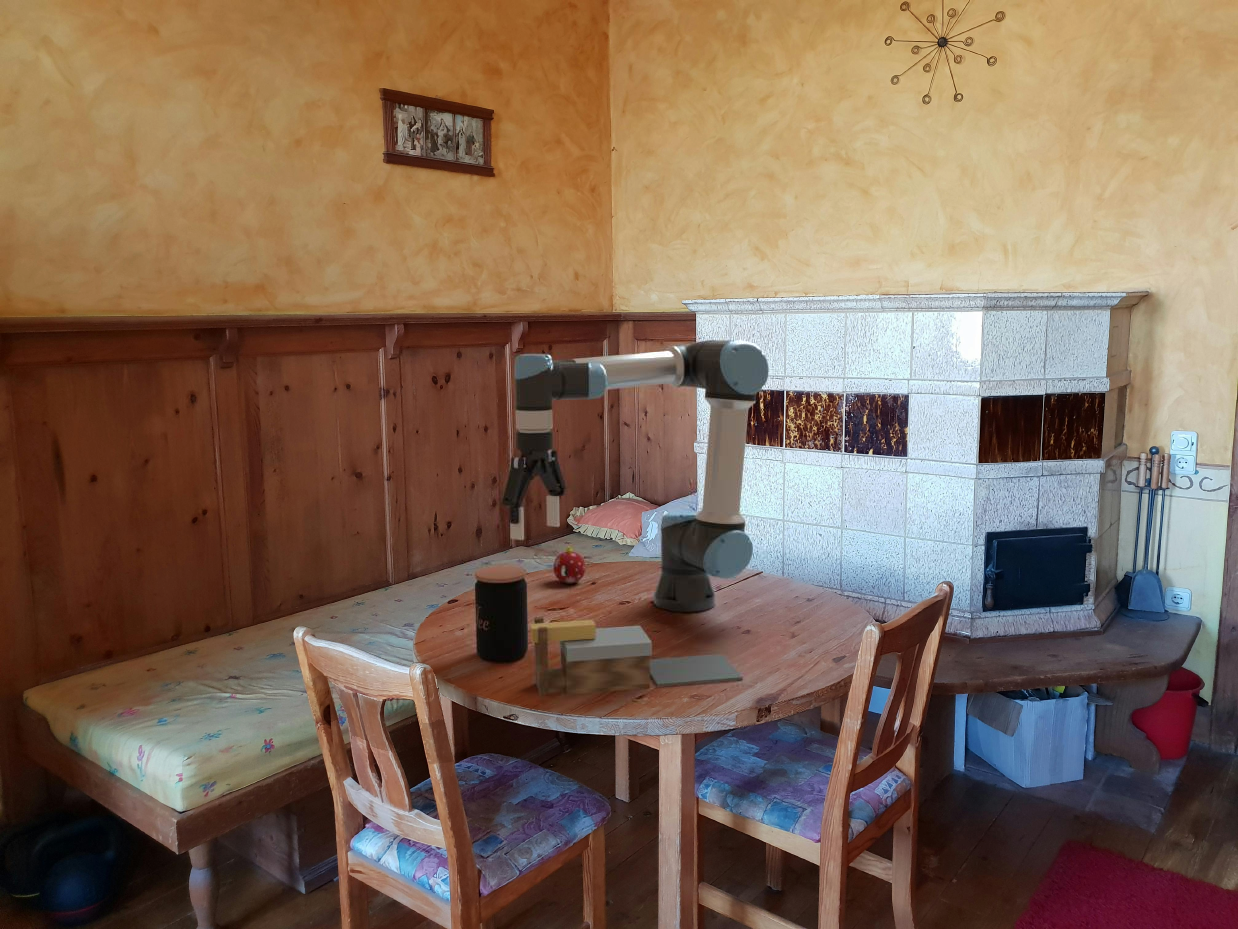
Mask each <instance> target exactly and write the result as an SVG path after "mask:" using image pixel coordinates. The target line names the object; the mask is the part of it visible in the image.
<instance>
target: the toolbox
mask: <svg viewBox="0 0 1238 929" xmlns="http://www.w3.org/2000/svg"><path fill="white" fill-rule="evenodd" d="M544 620H545V619H544V617H534V621H533V622H534V623H533V624H538V623H545V622H544ZM548 646H549V644H548V633H547V627H538V643H534V660H535V661H534V665H535V666H534V667H535V670H534V672H535V674H534V676H535V685H536V688H537V692H538V696H539V697H540V698H543V697H549V694H560V693H565V695H579V694H590V693H591V694H592V693H602V692H603V693H604V692H615V691H626V690H627V691H628V690H638V689H649V688H651V676H650V659H651V655H648V656H635V657H622V658H609V659H595V660H582V661H569V662H567V660H566V657H565V655H564V653H563V650H562V648H561V647H560V667H559V668H549V650H548V649H549V648H548Z"/></svg>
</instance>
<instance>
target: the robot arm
mask: <svg viewBox="0 0 1238 929" xmlns="http://www.w3.org/2000/svg"><path fill="white" fill-rule="evenodd" d="M769 373H770V372H769V362H768V359H767V357H766V355H765V353H764V352H763V351H762V349H761V348H760V346H758V345H756V344H755V343H753V342H750V341H746V340H745V341H744V340H739V339H737V340H734V339H733V340H732V339H731V340H716V339H708V340H700V341H697V342H693V343H687V344H682V345H681V344H680V345H671V346H667V348H665V349H664V350H663V351H652V352H641V353H629V354H627V353H626V354H617V355H615V354H614V355H606V356H605V355H604V356H593V357H591V356H590V357H582V358H581V357H580V358H571V359H558V360H553V357H552V356H551V355H550V354H547V353H525V354H519V355H518V356H516V357H515V360H514V375H513V379H514V395H515V397H514V399H515V405H514V406H515V429H516V430H518V431H516V433H515V449H516V450H518V451H520V457H517V456H512V457H511V459H510V470H509V474H508V477H507V482H506V485H505V490H504V493H503V497H502V501H501V505H502V506H504V507H505V508H508V509H509V523H510V524H509V525H510V527H509V528H510V539H511V540H519V541H523V540H524V539H525V529H524V528H525V525H524V524H525V523H524V521H525V520H524V519H525V516H524V514H525V512H524V507H523V506H522V504H523V501H524V499H525V497H526V494H527V492H528V488H529V487H530V483H531V482H532V481H533V480H534V479H535V478H536V477H539V478H540V479H541V481H542V484H543V485H544V487H545V489H546V491H547V493H548V495H546V526H547V527H556V528H559V527H561V526H560V523H561V522H560V496H561V497H564V495H565V491H566V484H565V481H564V477H563V474H562V471H561V467H560V464H559V461H558V451H557V450H555V449H554V450H552V449H553V447H554V444H553V443H554V442H553V441H554V439H553V438H554V435H553V434H554V433H553V432H552V430H551V429H553V425H554V420H553V401H561V400H563V401H565V400H567V401H568V400H591V399H598V398H601V397H603V396H604V395H605V393H606V391H607V390H615V389H627V388H637V387H645V386H655V385H656V386H657V385H666V384H667V385H668V386H670V387H671V388H678V387H680V388H681V387H687V388H689V387H690V388H694V389H695V388H698V389H703V390H704V399H705V401H706V402H707V404H708V405H709V406H710V413H709V423H708V424H709V426H708V437H707V448H706V460H705V470H704V471H705V473H704V485H703V495H702V497H703V498H702V509H701V510H681V511H672V512H668V513H665V514H663V515H662V517H661V522H660V523H661V525H660V535H661V536H660V549H661V550H660V552H661V553H660V564H661V565H660V575H659V578H658V582H657V583H656V587H655V590H654V593H653V604H654V605H655V606H656V607H657V608H660V609H662V610H665V611H669V612H678V613H680V612H681V613H692V612H693V613H694V612H696V613H697V612H701V611H707V610H709V609H712V608H713V607H715V606H716V594H715V590H714V587H713V583H712V581H711V578H710V577H713V578H720V579H722V580H723V579H725V580H726V579H727V580H728V579H732V578H735V577H737V576H739V575H740V574H742V573H743V571H744V570H746V568H747V567H748V566H749V565H750V562H751V560H752V557H753V555H754V545H753V542H752V540H751V539H750V537H749V535H748V534H747V533H746V532H745V531H746V518H744V516H743V515H742V514H741V512H740V510H741V509H740V508H741V499H742V498H741V497H742V486H743V474H744V465H745V454H746V443H747V442H746V440H747V428H748V426H747V425H748V419H749V418H748V417H749V409H750V408H751V407H752V406H753V405H754V404H756V402H757V400H756V399H757V393H758V392H760V391H761V390H762V389H763V387H764V386H765V385H766V383H767V381H768V378H769Z"/></svg>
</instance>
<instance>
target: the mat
mask: <svg viewBox="0 0 1238 929" xmlns="http://www.w3.org/2000/svg"><path fill="white" fill-rule="evenodd" d="M650 679H652V681H653V682H654V684H655V686H656V687H657V688H662V687H665V688H666V687H674V686H686V685H687V686H688V685H698V684H700V685H701V684H711V683H723V682H734V681H737V682H738V681H743V679H744V678H743V676H742V675H741V673H740V672H739V671H737V669H736V668H735V667H734V666H733V664H731V662H729V660H728V659H727V658H726V657H725V656H724V654H722V653H717V654H716V653H715V654H705V655H704V654H703V655H693V656H691V655H690V656H678V657H667V658H664V657H663V658H653V659H651V658H650Z"/></svg>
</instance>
